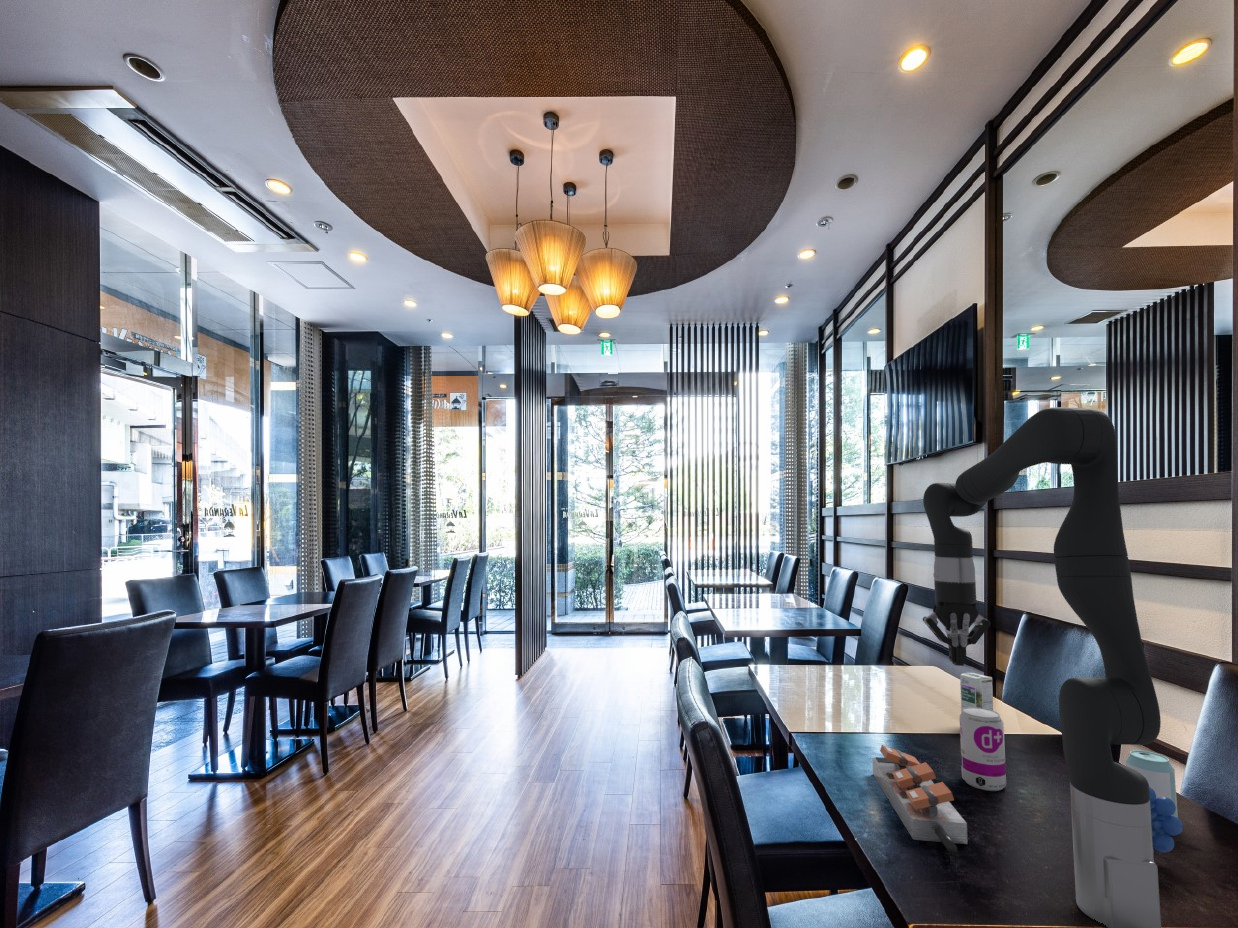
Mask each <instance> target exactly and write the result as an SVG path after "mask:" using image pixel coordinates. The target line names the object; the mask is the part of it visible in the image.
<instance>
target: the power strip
mask: <svg viewBox="0 0 1238 928" xmlns="http://www.w3.org/2000/svg"><path fill="white" fill-rule="evenodd" d="M905 768H907V767H906V766H901V765H900V764H898V763H896V762H893V761H890V760H888V759H885V757H881V756H880V757H879V756H878V757H877V756H876V757H872V775H873V777H874V778H875V780H876V781H877V784H878V785H879V787H880V788H881V790H882V791H883V793H884V794H885V796H886V798H887V799H889V800H888V801H889V803H890V805H891V806H892V808H893V809H894V812H896V813H897V815H898V817H899V819H900V820H901V822H902V825H904V827H905V829H906V830H907V831H908V833H909V836H910V837H911V838H912V840H917V841H926V842H927V841H928V842H938V843H942V844H943V846H944V848H946V851H947V852H948V853H949V854H950V855H954V856H955V855H957V854H958V852H959V849H958V847H957V845H956V844H959V845H961V844H962V845H963V844H964V845H968V823H967V822H966V820H965V819H964V818H963V817H962V815H961V814H960V813H959V812H958V810H957V809H956V808H955V807H954V805H952V803H951V801H948V802H944V803H940V804H938V805H936V806H928V807H924V808H920V809H915V808H914V806H913V805H912V804H911V802H910V801H909V799H908V797H907V794H906V791H908V790H912V789H916V788H920V787H922V786H923V785H926V786H928V785H932V784H935V783H934V781H933V779H932V780H929V781H925V782H922V783H921V784H919V785H916V784H915V785H912V786H909V787H905V788H902V789H901V788H900V786H899V785H898V783H897V782H896V780H895V779H894V776H893V774H892V772H895V771H898V770H902V769H905Z"/></svg>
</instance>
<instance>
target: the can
mask: <svg viewBox="0 0 1238 928" xmlns="http://www.w3.org/2000/svg"><path fill="white" fill-rule="evenodd" d="M1125 766H1127V767H1129V768H1131V769H1133V770H1135V771H1137V772H1139V773H1140V774H1142V775H1143V776H1144V777H1145V778H1146V779H1147V781H1148V784H1149V787H1151V788H1152V789H1153V790H1154V791H1155V794H1156V798H1159V797H1166V798H1169V799H1171V800H1172V801H1173V802H1174V804H1175V806H1176V810H1175V812H1174V814H1173V815H1171V816H1175V817H1177V818H1178V819H1179V817H1178V816H1179V815H1178V803H1177V787H1176V786H1177V785H1176V775H1175V774H1176V773H1175V772H1176V771H1175V768H1174V767H1173V765H1172V764H1171V763H1170V759H1169V758H1168V757H1167V756H1165V755H1162V754H1159V753H1156V752H1152V751H1149V750H1143V749H1142V750H1139V749H1137V750H1136V749H1135V750H1130V751H1129V755H1128V756H1127V757H1126V759H1125Z"/></svg>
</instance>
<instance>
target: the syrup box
mask: <svg viewBox="0 0 1238 928" xmlns="http://www.w3.org/2000/svg"><path fill="white" fill-rule="evenodd" d="M959 679H960V680H959V681H960V684H959V686H960V710H961V711H960V712H961V713H962V711H963V710H962V709H963V708H967V707H978V708H985V709H989V710H992V711H994V696H993V695H994V694H993V693H994V692H993V677H992V676H987V675H984V674H979V673H975V672H964V673H961V674H960V675H959ZM961 713H960V714H961Z"/></svg>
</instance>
